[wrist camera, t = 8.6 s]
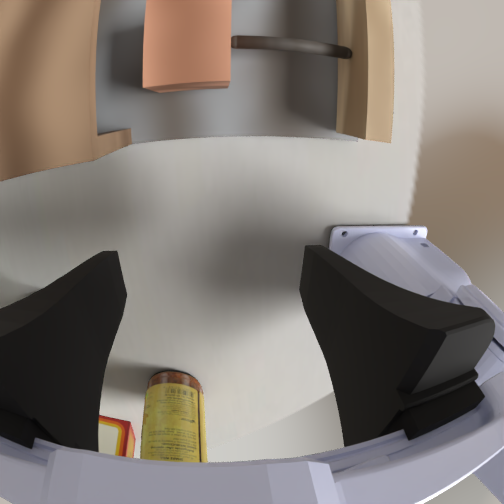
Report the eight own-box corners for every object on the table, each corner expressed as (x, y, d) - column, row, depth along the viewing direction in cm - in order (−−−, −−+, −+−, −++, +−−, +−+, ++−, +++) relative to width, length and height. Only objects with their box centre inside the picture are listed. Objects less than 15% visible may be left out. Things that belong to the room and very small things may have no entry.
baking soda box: (130, 421, 32) (120, 522, 17) (135, 439, 34) (128, 526, 20) (70, 407, 30) (48, 500, 16) (80, 426, 33) (65, 509, 18)
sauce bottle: (136, 376, 27) (117, 551, 9) (182, 360, 26) (179, 562, 8) (172, 405, 30) (171, 557, 12) (216, 392, 29) (230, 561, 12)
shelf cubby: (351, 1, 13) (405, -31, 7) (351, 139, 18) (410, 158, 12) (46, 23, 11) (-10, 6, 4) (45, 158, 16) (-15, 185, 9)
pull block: (357, 1, 12) (388, -18, 8) (357, 134, 16) (390, 143, 13) (163, -12, 11) (150, -40, 7) (161, 132, 15) (144, 139, 12)
